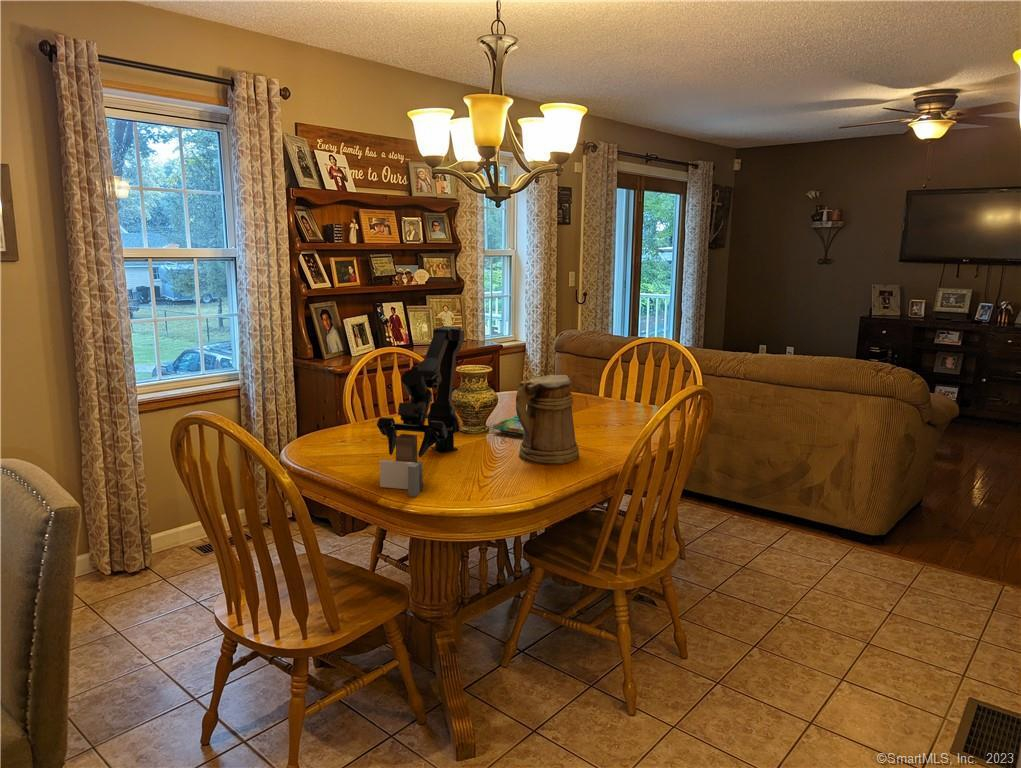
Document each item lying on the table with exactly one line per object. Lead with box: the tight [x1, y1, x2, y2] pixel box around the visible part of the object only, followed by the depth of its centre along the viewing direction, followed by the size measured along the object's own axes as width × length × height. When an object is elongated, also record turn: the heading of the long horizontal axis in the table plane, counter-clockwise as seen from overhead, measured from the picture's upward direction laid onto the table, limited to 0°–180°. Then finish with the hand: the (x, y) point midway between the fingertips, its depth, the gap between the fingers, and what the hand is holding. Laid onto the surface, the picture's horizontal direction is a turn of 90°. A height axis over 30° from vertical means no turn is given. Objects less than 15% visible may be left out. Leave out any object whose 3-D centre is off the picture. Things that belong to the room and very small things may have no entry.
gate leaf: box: [379, 459, 424, 491], centre depth 186 cm, size 12×2×7 cm, turn 78°
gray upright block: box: [407, 463, 421, 498], centre depth 181 cm, size 3×2×8 cm, turn 167°
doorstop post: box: [395, 433, 418, 462], centre depth 190 cm, size 4×4×13 cm
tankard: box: [515, 374, 580, 466], centre depth 213 cm, size 18×24×25 cm
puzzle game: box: [492, 414, 524, 437], centre depth 247 cm, size 12×5×20 cm
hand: (404, 455), depth 188 cm, fingers open, 8 cm apart
